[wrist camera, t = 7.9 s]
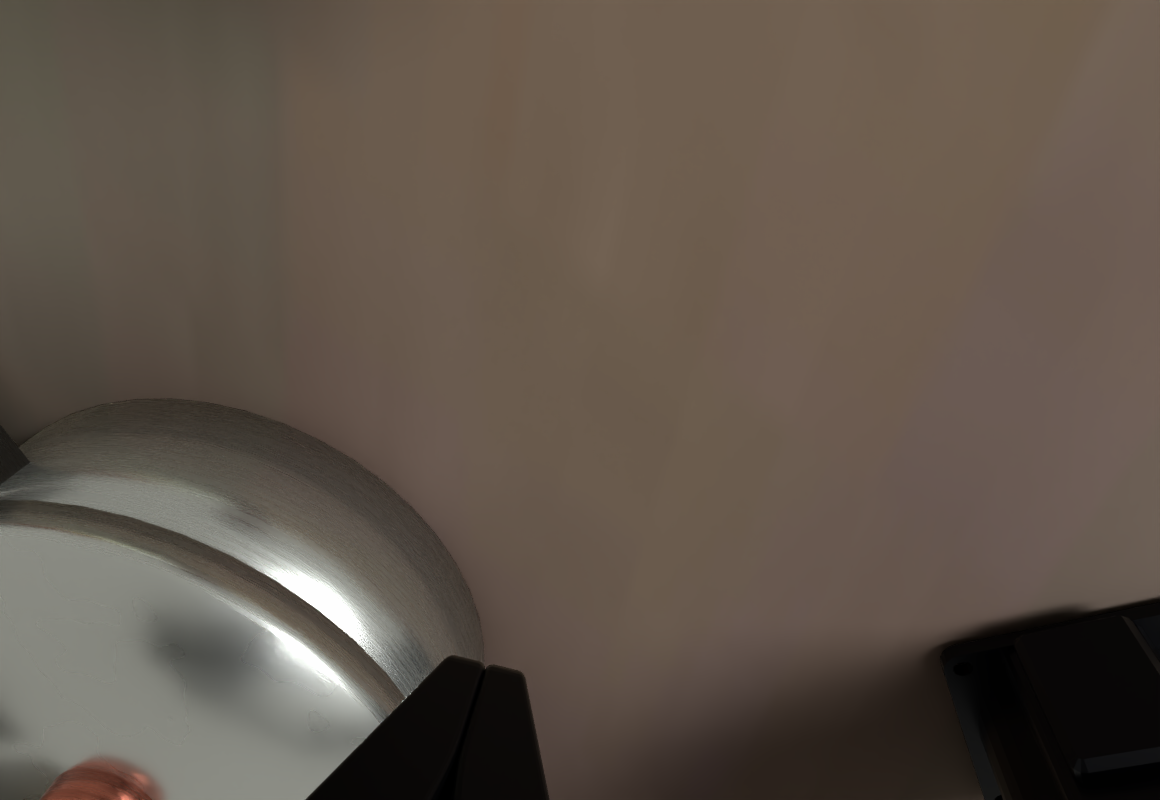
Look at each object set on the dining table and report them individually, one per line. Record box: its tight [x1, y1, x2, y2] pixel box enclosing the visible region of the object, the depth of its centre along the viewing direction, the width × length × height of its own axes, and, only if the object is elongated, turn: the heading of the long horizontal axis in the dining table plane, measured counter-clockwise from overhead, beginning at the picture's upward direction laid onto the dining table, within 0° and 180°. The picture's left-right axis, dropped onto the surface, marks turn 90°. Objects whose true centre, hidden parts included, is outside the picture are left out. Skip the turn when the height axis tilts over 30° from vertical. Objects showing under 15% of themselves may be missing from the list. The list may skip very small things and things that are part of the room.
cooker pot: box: [0, 399, 484, 698], centre depth 23 cm, size 22×16×5 cm
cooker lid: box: [0, 500, 405, 800], centre depth 19 cm, size 23×17×2 cm
